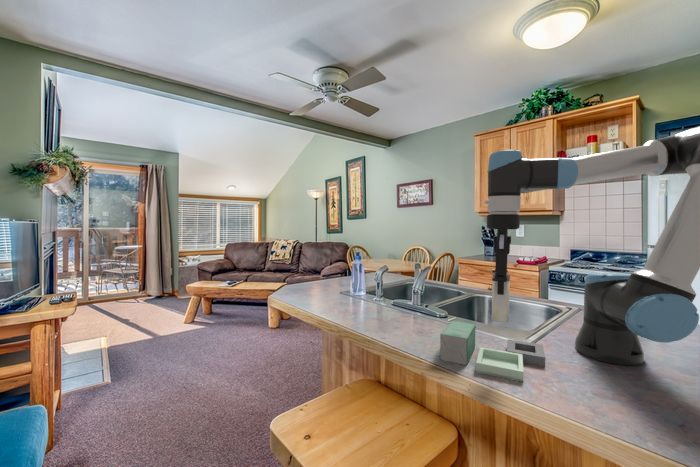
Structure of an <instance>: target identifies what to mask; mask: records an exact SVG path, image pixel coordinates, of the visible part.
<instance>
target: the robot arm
mask: <svg viewBox="0 0 700 467" xmlns="http://www.w3.org/2000/svg"><path fill="white" fill-rule="evenodd" d="M487 166H488V168H487V199H488V200H487V199H486V200H484V204H485V205H487V207H486V209H487V212H488V213H489V214H487V215H486V228H487V229H488V230H496V231H497V233H496V235H494V236H493V244H494V249H493V251H494V254H495V268H494V269H495V272H494V273H495V279H494V278H491V281H495V297H494V306H495V307H504V308H506V299H507V277H506V275H507V273H509V272H508V255H509V254H510V251H511V249H510V248H511V246H510V245H511V243H512V236H511V235H509V236H508V234H509V231H508V230H518V229H519V228H520V226H521V225H520V222H521V220H520V219H521V215H520V214H518V213H519V212H520V211H521V204H522V203H521V200H522V198H521V197H522V195H521V194H528V193H533V192H534V193H535V192H538V191H540V192H541V191H546V190H557V191H558V190H563V189H564V190H567V189H568V190H569V189H570V188H572V187H573V186H576V185H582V184H589V183H595V182H601V181H608V180H614V179H621V178H625V177H626V178H628V177H634V176H639V175H647V176H649V177H657V176H664V175H679V174H680V175H681V174H688V176H689V180H688V182H687V184H686V186H685V187H684V190H683V191H682V193H681V196H680V197H679V199H678V201H677V203H676V204H675V207H674V209H673V210H672V213H671V214H670V217H669V218H668V219H667V220H668V221H667V222H666V224H665V226H664V228H663V230H662V232H661V233H660V235H659V237H658V239H657V241H656V243H655V245H654V247H653V249H652V251H651V253H650V254H649V256H648V259H647V260H646V262H645V265H644V266H643V268H641V269H639V270H635V271H632V272H631V273H630V274H629V273H628V274H625V273H608V272H607V273H605V272H603V273H600V272H595V273H593V272H591V273H588V274H586V276H585V278H584V279H585V280H584V283H583V287H584V295H583V322H582V324H581V327H580V329H579V332H578V334H577V335H576V337H575V342H574V345H575V346H574V348H575V349H576V351H578V352H579V353H580V354H582V355H584V356H586V357H589V358H591V359H594V360H597V361H600V362H604V363H608V364H613V365H620V366H638V365H641V364H643V363H644V360H645V357H644V356H645V353H644V350H643V347H642V344H641V341H640V338H643V339H646V340H649V341H651V342H656V343H666V344H667V343H672V342H675V341H676V342H677V341H681V340H684V339H686V338H687V337H689V335H691V334H692V333H693V332H694V331H695V330H696V328H697V327H698V325H699V321H700V315H699V313H698V309H697V307H696V305H695V304H694V303H693V302H694V300H695V298H696V297H697V293H696V291H695V290H694V287H693V286H692V284H693V282H694V280H695V278H696V277H697V275H698V273H699V271H700V125H698V126H695V127H692V128H689V129H686V130H683V131H681V132H678V133H676V134H672V135H668V136H665V137H662V138H658V139H652V140H648V141H646V142H644V144H643V145H639V146H634V147H629V148H622V149H616V150H610V151H606V152H599V153H594V154H589V155H583V156H577V157H576V156H575V157H571V158H570V157H559V156H558V157H550V158H548V157H547V158H545V157H544V158H523V154H522V152H521V150H518V149H503V150H498V151H495V152H492V153H491V154H490V155H489V157H488V165H487ZM502 275H503V276H502ZM639 337H640V338H639Z"/></svg>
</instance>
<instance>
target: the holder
mask: <svg viewBox="0 0 700 467" xmlns="http://www.w3.org/2000/svg"><path fill="white" fill-rule="evenodd" d="M506 352H512V353H518V354H522V355H523V364H528V365H534V366H538V367H539V366H540V367H544V368H545V367H546V355H545V350H544V346H543V344H541V343H535V342H533V343H532V342H529V341H528V342H527V341H523V340H522V341H521V340H515V339H514V340H513V339H508V338H507V342H506Z"/></svg>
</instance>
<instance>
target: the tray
mask: <svg viewBox="0 0 700 467" xmlns="http://www.w3.org/2000/svg"><path fill="white" fill-rule="evenodd" d="M475 364H476V365H475V372H476V373H477V374H478V373H479V374H484V375H488V376H493V377H497V378H502V379H507V380H512V381H517V382H521V383H524V363H523V355H522V354H518V353H512V352H507V350H501V349H499V350H498V349H494V348H487V347H482V346H481V347H479V350H478V354H477V358H476V362H475Z"/></svg>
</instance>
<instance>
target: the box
mask: <svg viewBox="0 0 700 467" xmlns="http://www.w3.org/2000/svg"><path fill="white" fill-rule="evenodd" d="M439 336H440V340H439V341H440V345H439V346H440V347H439V349H440V350H439V351H440V354H439V358H440V360H442V361H446V362H449V363H453V364H458V365H463V366H466V365H468V364H469V361H470V359H471V357H472V355H473V353H474V350H475V348H476V324H475V323H470V322H465V321H464V322H463V321H459V320H458V321H457V320H452V321H451V320H450V322H449V323H448V325H447V326H446V327H445V328H444V329H443V330H442V332H441V333H440V335H439Z"/></svg>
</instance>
